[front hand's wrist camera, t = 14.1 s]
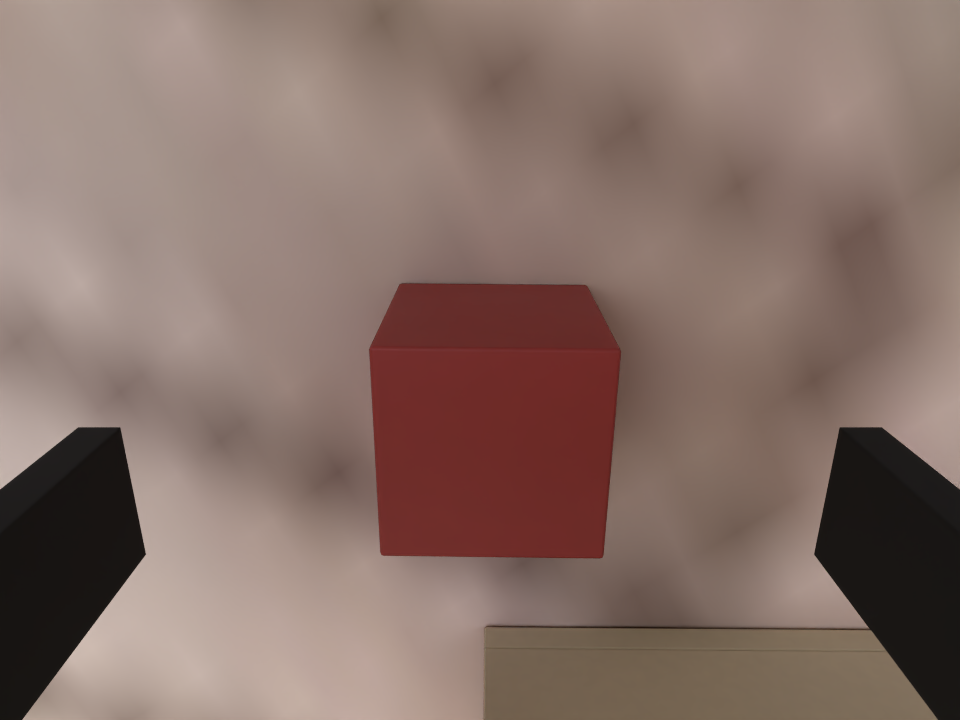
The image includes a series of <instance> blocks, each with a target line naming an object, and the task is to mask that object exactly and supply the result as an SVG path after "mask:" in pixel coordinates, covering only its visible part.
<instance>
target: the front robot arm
mask: <svg viewBox="0 0 960 720" xmlns="http://www.w3.org/2000/svg"><path fill="white" fill-rule="evenodd" d="M145 555H146V553H145V548H144V543H143V538H142V533H141V528H140V523H139V518H138V513H137V508H136V503H135V498H134V493H133V488H132V483H131V478H130V473H129V469H128V464H127V459H126V454H125V449H124V444H123V439H122V434H121V429H120V427H78V428H77V429H76V430H74V431H73V432H72V433H71V434H69V435H68V436H67V437H66V438H64V439H63V440H62V441H61V442H59V443H58V444H57V445H56V446H54V447H53V448H52V449H51V450H49V451H48V452H47V453H46V454H44V455H43V456H42V457H41V458H39V459H38V460H37V461H36V462H34V463H33V464H32V465H31V466H29V467H28V468H27V469H25V470H24V471H23V472H22V473H20V474H19V475H18V476H17V477H15V478H14V479H13V480H12V481H10V482H9V483H8V484H7V485H5V486H4V487H3V488H2V489H0V720H22V719H23V718H24V717H25V715H26V714H27V713H28V711H29V710H30V709H31V707H32V706H33V705H34V703H35V702H36V701H37V699H38V698H39V697H40V695H41V694H42V693H43V691H44V690H45V689H46V687H47V686H48V684H49V683H50V682H51V680H52V679H53V678H54V676H55V675H56V674H57V672H58V671H59V670H60V668H61V667H62V666H63V664H64V663H65V662H66V660H67V659H68V658H69V656H70V655H71V654H72V652H73V651H74V650H75V648H76V647H77V646H78V644H79V643H80V642H81V640H82V639H83V638H84V636H85V635H86V634H87V632H88V631H89V630H90V628H91V627H92V626H93V624H94V623H95V622H96V620H97V619H98V618H99V616H100V615H101V614H102V612H103V611H104V610H105V608H106V607H107V606H108V604H109V603H110V602H111V600H112V599H113V598H114V596H115V595H116V594H117V592H118V591H119V590H120V588H121V587H122V586H123V584H124V583H125V582H126V580H127V579H128V578H129V576H130V575H131V574H132V572H133V571H134V570H135V568H136V567H137V566H138V564H139V563H140V562H141V560H142V559H143V558H144V556H145ZM814 555H815V556H816V558H817V559H818V560H819V562H820V563H821V564H822V566H823V567H824V568H825V570H826V571H827V572H828V574H829V575H830V576H831V578H832V579H833V580H834V582H835V583H836V584H837V586H838V587H839V588H840V590H841V591H842V592H843V594H844V595H845V596H846V598H847V599H848V600H849V602H850V603H851V604H852V606H853V607H854V608H855V610H856V611H857V612H858V614H859V615H860V616H861V618H862V619H863V620H864V622H865V623H866V624H867V626H868V627H869V628H870V630H871V631H872V632H873V634H874V635H875V636H876V638H877V639H878V640H879V642H880V643H881V644H882V646H883V647H884V648H885V650H886V651H887V652H888V654H889V655H890V656H891V658H892V659H893V660H894V662H895V663H896V664H897V666H898V667H899V668H900V670H901V671H902V672H903V674H904V675H905V676H906V678H907V679H908V680H909V682H910V683H911V684H912V686H913V687H914V689H915V690H916V691H917V693H918V694H919V695H920V697H921V698H922V699H923V701H924V702H925V703H926V705H927V706H928V707H929V709H930V710H931V711H932V713H933V714H934V715H935V717H936V718H937V719H938V720H960V489H958V488H957V487H956V486H955V485H953V484H952V483H951V482H950V481H948V480H947V479H946V478H945V477H943V476H942V475H941V474H940V473H938V472H937V471H936V470H935V469H933V468H932V467H931V466H929V465H928V464H927V463H926V462H924V461H923V460H922V459H921V458H919V457H918V456H917V455H916V454H914V453H913V452H912V451H911V450H909V449H908V448H907V447H906V446H904V445H903V444H902V443H901V442H899V441H898V440H897V439H896V438H894V437H893V436H892V435H891V434H889V433H888V432H887V431H886V430H884V429H883V428H882V427H840V429H839V434H838V439H837V444H836V449H835V454H834V459H833V464H832V469H831V473H830V478H829V483H828V488H827V493H826V498H825V503H824V508H823V513H822V518H821V523H820V528H819V533H818V538H817V543H816V548H815V553H814Z"/></svg>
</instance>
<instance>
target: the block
mask: <svg viewBox="0 0 960 720" xmlns="http://www.w3.org/2000/svg"><path fill="white" fill-rule="evenodd" d="M369 353H370V372H371V390H372V408H373V427H374V445H375V464H376V482H377V500H378V519H379V537H380V552H381V555H383V556H455V557H535V558H602V557H603V554H604V543H605V531H606V520H607V508H608V496H609V485H610V473H611V462H612V450H613V438H614V427H615V415H616V404H617V392H618V380H619V369H620V357H621V351H620V348H619V346H618V344H617V343H616V341H615V339H614V337H613V335H612V333H611V331H610V329H609V327H608V325H607V323H606V322H605V320H604V318H603V316H602V314H601V312H600V310H599V308H598V306H597V304H596V302H595V301H594V299H593V297H592V295H591V293H590V291H589V289H588V287H587V286H585V285H500V284H400V285H399V287H398V289H397V291H396V293H395V295H394V298H393V300H392V302H391V304H390V306H389V308H388V310H387V312H386V314H385V317H384V319H383V321H382V323H381V325H380V327H379V329H378V331H377V334H376V336H375V338H374V340H373V342H372V344H371V346H370V349H369Z"/></svg>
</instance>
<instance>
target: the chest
mask: <svg viewBox="0 0 960 720" xmlns="http://www.w3.org/2000/svg"><path fill="white" fill-rule="evenodd" d="M484 720H938V719H937V718H936V717H935V715H934V714H933V713H932V711H931V710H930V709H929V707H928V706H927V705H926V703H925V702H924V701H923V699H922V698H921V697H920V695H919V694H918V693H917V691H916V690H915V689H914V687H913V686H912V684H911V683H910V682H909V680H908V679H907V678H906V676H905V675H904V674H903V672H902V671H901V670H900V668H899V667H898V666H897V664H896V663H895V662H894V660H893V659H892V658H891V656H890V655H889V654H888V652H887V651H886V650H885V648H884V647H883V646H882V644H881V643H880V642H879V640H878V639H877V638H876V636H875V635H874V634H873V632H872V631H871V630H783V629H653V628H523V627H486V628H485V629H484Z"/></svg>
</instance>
